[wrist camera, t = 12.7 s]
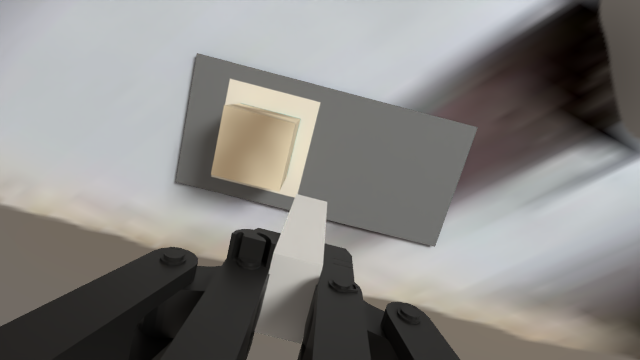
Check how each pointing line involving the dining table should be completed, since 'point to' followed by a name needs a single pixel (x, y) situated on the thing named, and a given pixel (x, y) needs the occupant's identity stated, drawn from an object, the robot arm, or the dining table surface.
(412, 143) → the charcoal mat
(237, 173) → the birch block
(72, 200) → the dining table surface
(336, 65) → the dining table surface
